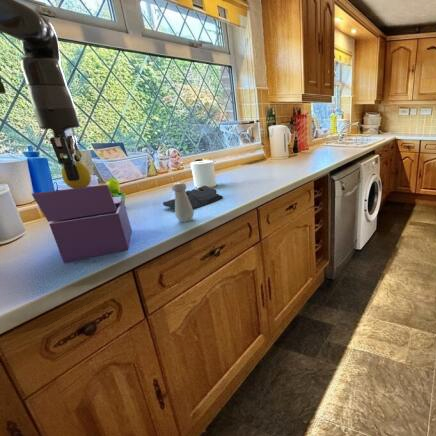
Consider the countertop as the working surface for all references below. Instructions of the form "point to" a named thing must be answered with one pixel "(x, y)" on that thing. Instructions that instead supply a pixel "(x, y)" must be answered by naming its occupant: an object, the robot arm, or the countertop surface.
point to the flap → (75, 202)
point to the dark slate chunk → (198, 197)
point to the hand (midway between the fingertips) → (76, 177)
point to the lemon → (83, 175)
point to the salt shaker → (182, 203)
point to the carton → (93, 234)
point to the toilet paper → (203, 173)
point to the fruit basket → (115, 188)
